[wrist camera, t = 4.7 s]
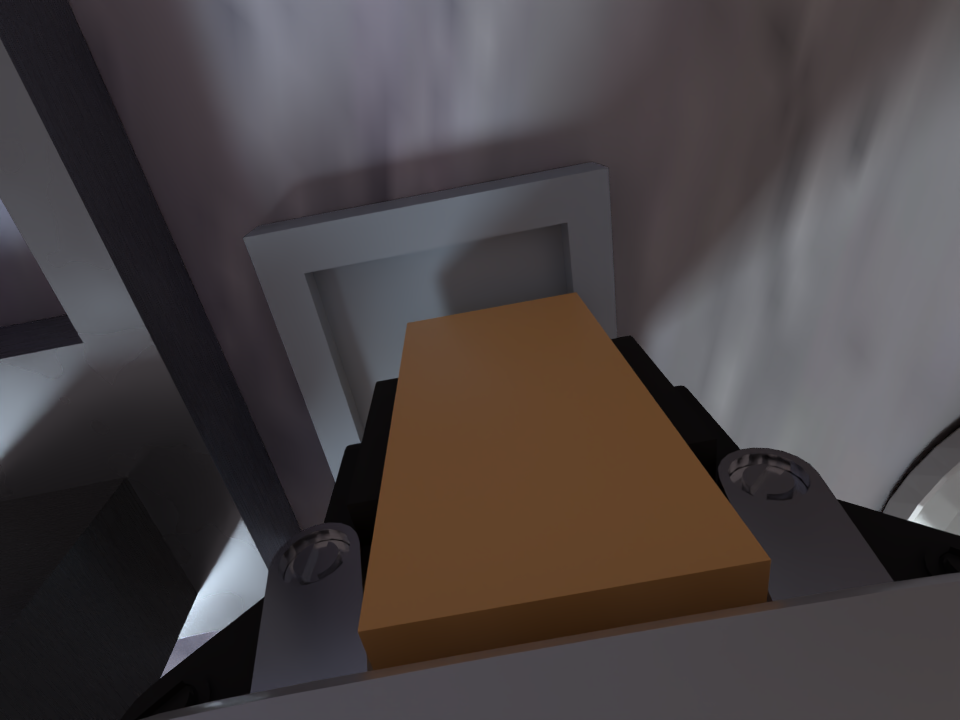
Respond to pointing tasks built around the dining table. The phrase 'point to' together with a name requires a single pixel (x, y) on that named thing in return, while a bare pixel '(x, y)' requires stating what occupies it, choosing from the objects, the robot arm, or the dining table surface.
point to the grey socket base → (110, 410)
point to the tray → (424, 277)
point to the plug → (538, 494)
